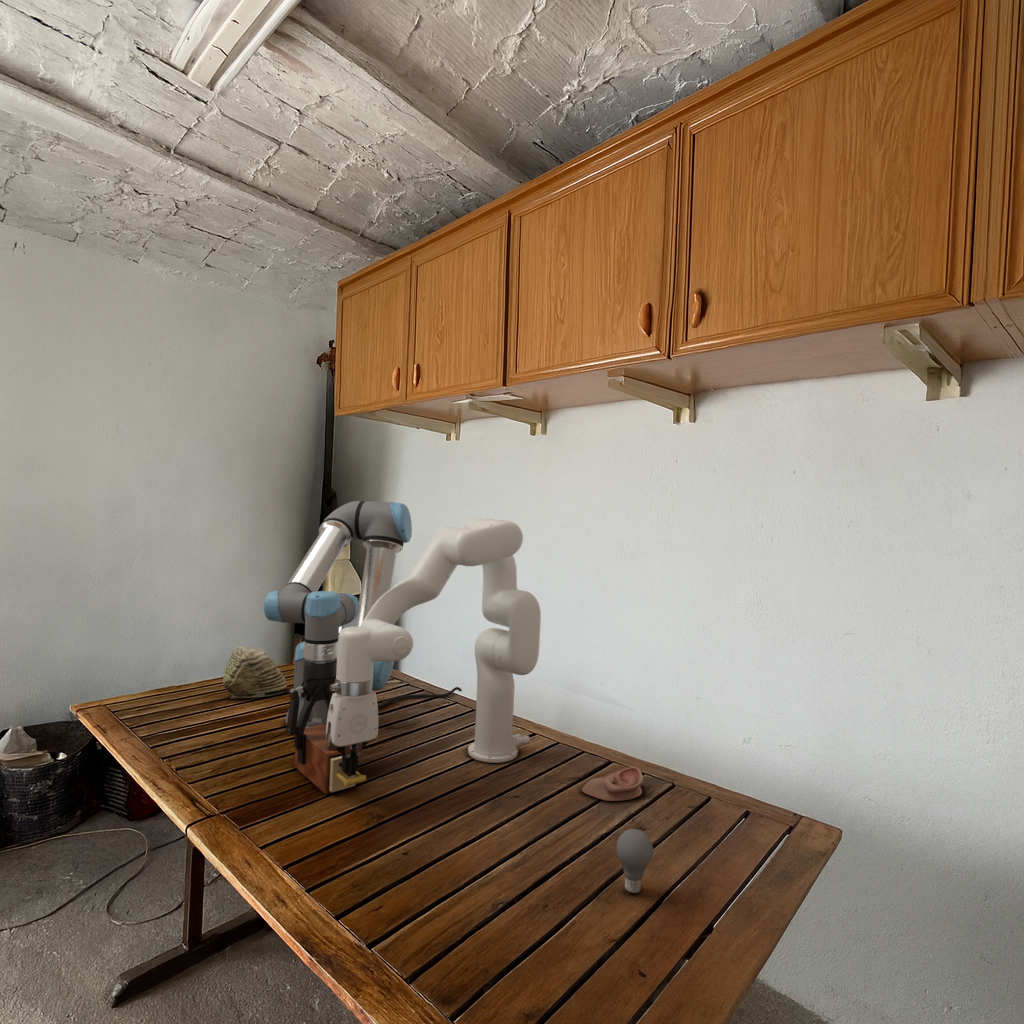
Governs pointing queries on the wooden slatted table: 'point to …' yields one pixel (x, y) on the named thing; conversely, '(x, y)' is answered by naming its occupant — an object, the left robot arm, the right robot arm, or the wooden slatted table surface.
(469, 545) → the right robot arm
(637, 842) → the light bulb
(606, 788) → the anatomical model
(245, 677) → the fossil
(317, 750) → the cabinet
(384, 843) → the wooden slatted table surface
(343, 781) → the drawer
